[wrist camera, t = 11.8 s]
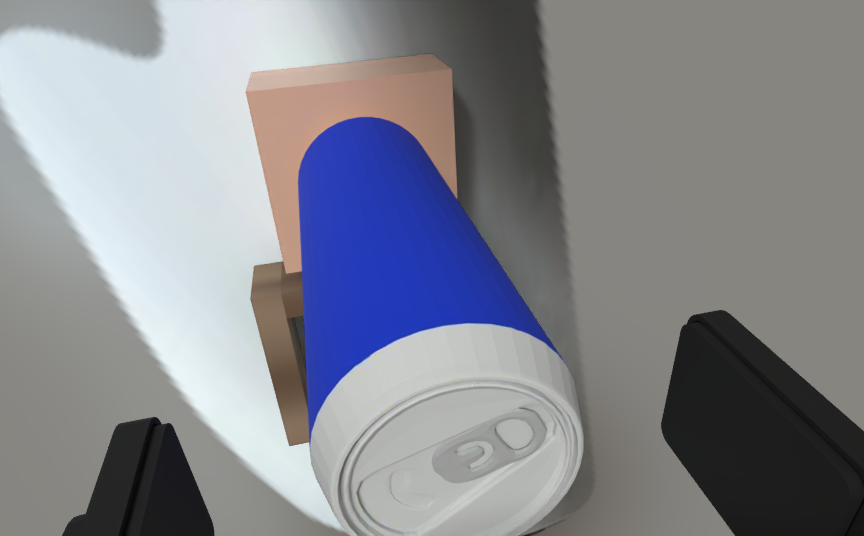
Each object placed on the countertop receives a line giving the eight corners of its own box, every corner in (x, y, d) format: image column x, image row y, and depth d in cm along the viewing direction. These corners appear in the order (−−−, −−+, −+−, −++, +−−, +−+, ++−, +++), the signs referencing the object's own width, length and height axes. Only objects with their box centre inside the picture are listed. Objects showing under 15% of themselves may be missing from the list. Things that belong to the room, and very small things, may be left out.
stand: (251, 72, 23) (245, 91, 20) (432, 53, 24) (451, 69, 21) (286, 237, 27) (285, 273, 24) (441, 214, 28) (459, 246, 25)
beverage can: (346, 258, 24) (412, 606, 12) (269, 160, 22) (244, 474, 9) (450, 193, 24) (636, 479, 11) (384, 85, 21) (531, 301, 8)
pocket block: (254, 266, 27) (250, 299, 25) (437, 237, 29) (452, 266, 26) (289, 406, 32) (289, 446, 29) (446, 375, 33) (459, 411, 31)
